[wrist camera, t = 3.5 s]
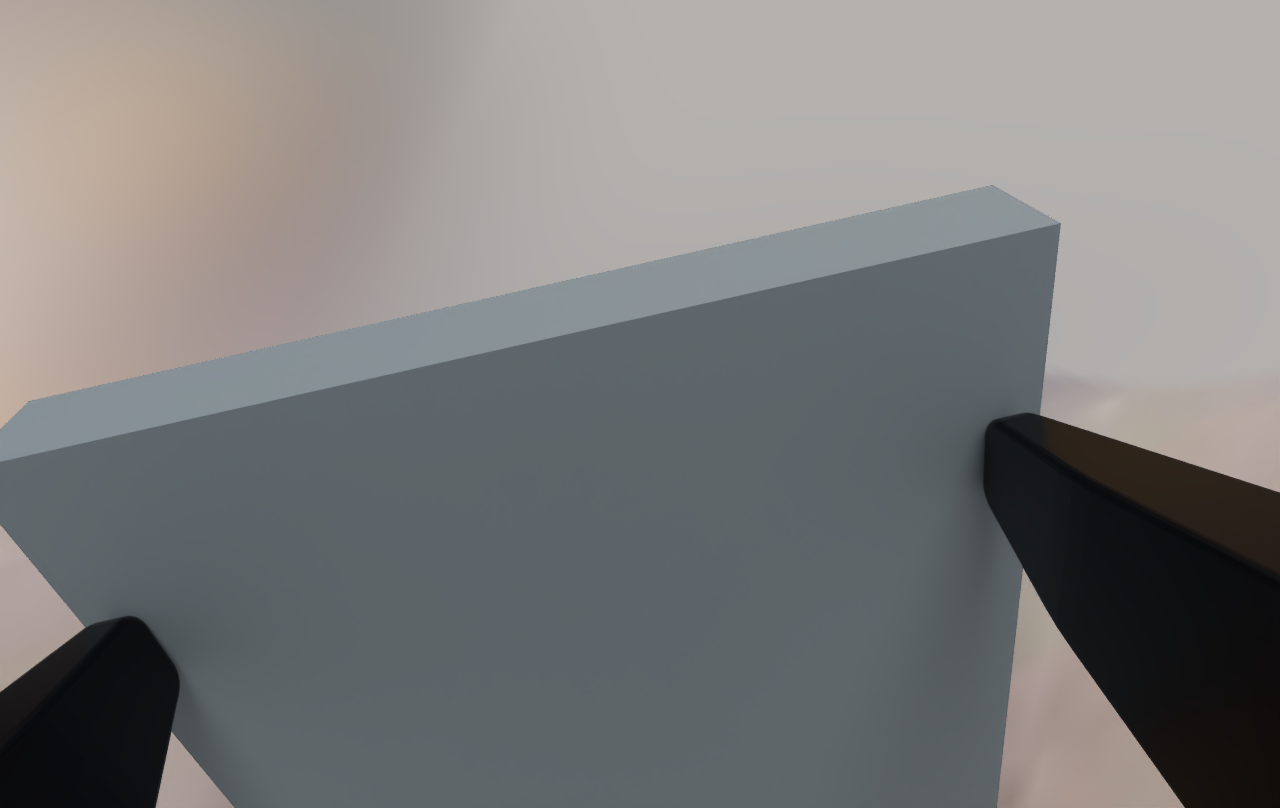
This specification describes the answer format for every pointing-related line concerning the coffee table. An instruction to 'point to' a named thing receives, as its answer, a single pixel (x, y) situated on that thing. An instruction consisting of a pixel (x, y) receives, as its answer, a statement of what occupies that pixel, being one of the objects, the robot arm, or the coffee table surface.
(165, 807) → the coffee table surface
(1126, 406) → the coffee table surface
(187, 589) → the panel
